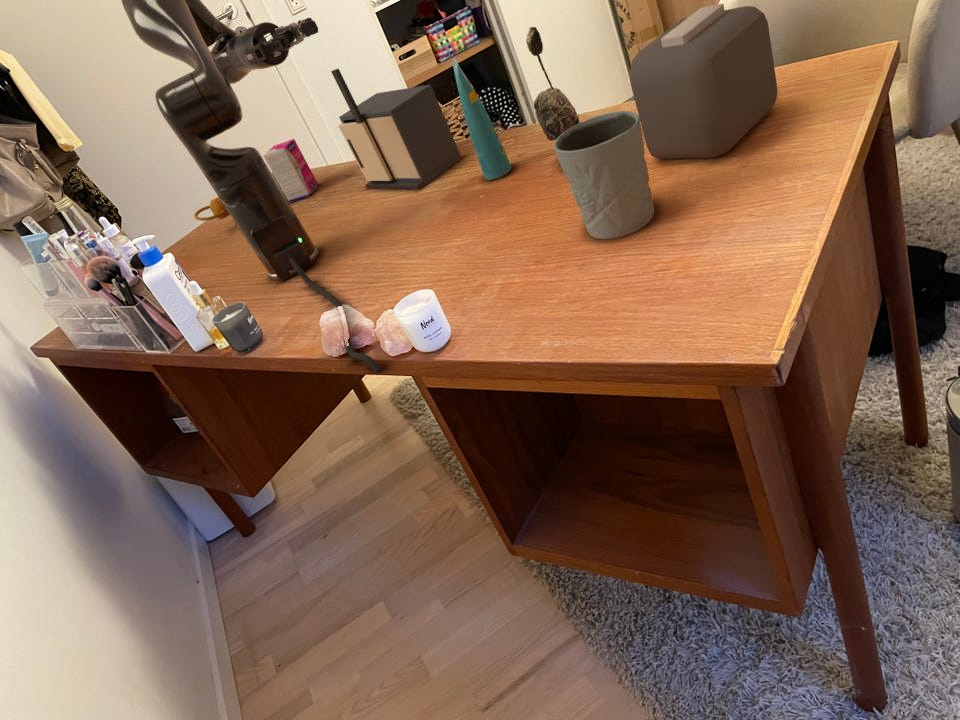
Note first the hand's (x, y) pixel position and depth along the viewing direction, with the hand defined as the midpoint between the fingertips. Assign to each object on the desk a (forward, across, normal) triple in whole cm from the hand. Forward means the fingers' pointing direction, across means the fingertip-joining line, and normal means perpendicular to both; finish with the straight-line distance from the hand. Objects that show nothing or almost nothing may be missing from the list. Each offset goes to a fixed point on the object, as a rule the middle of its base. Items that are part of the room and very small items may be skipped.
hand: (300, 34), depth 120 cm
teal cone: (+31, +5, +30) cm, 44 cm away
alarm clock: (+67, +15, +30) cm, 75 cm away
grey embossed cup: (+65, -6, +30) cm, 72 cm away
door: (+2, 0, +29) cm, 29 cm away
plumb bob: (-35, -13, +30) cm, 48 cm away
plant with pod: (+45, +10, +30) cm, 55 cm away
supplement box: (-25, -4, +30) cm, 39 cm away
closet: (+6, +6, +30) cm, 31 cm away
